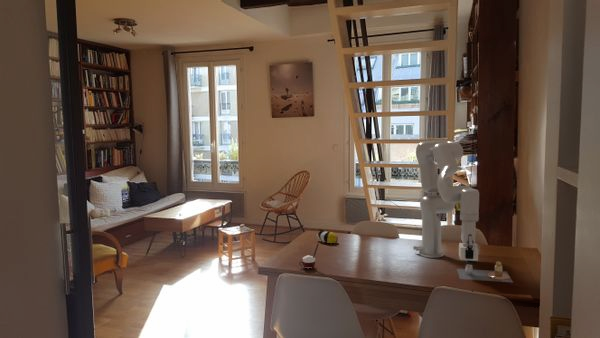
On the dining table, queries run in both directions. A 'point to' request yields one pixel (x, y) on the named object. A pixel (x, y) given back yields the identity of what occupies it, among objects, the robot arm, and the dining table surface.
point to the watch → (478, 254)
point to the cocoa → (309, 260)
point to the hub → (498, 272)
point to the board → (478, 274)
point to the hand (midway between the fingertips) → (468, 255)
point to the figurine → (327, 236)
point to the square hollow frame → (462, 252)
